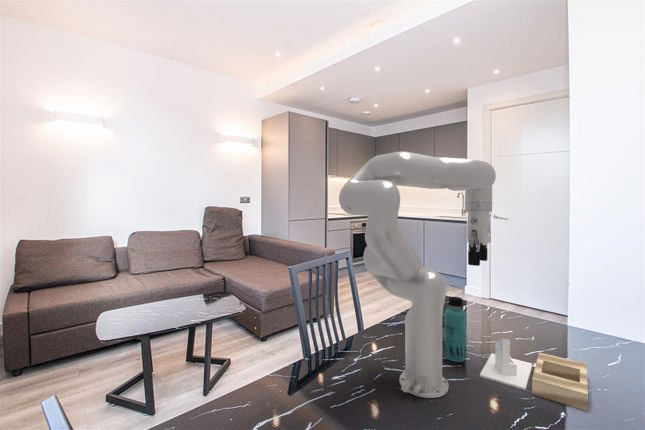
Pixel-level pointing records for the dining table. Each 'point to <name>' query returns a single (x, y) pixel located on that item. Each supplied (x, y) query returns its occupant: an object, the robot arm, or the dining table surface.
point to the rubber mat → (517, 381)
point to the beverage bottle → (455, 331)
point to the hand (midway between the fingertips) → (478, 262)
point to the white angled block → (504, 358)
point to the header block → (561, 380)
